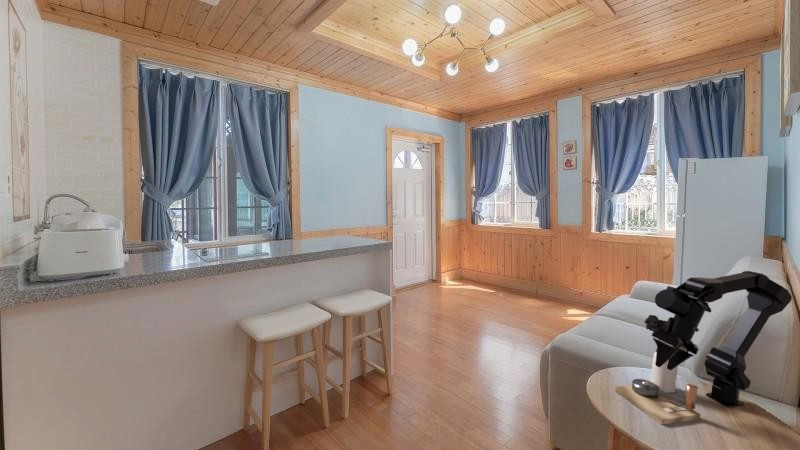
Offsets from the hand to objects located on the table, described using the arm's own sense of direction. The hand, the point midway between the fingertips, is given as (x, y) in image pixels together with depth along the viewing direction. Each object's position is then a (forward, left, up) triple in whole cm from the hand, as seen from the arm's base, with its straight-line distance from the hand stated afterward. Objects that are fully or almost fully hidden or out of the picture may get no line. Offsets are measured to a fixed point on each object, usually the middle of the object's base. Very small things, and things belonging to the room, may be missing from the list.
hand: (663, 367), depth 104 cm
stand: (0, -1, -12) cm, 12 cm away
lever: (-2, -1, -10) cm, 11 cm away
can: (-10, -8, -12) cm, 18 cm away
